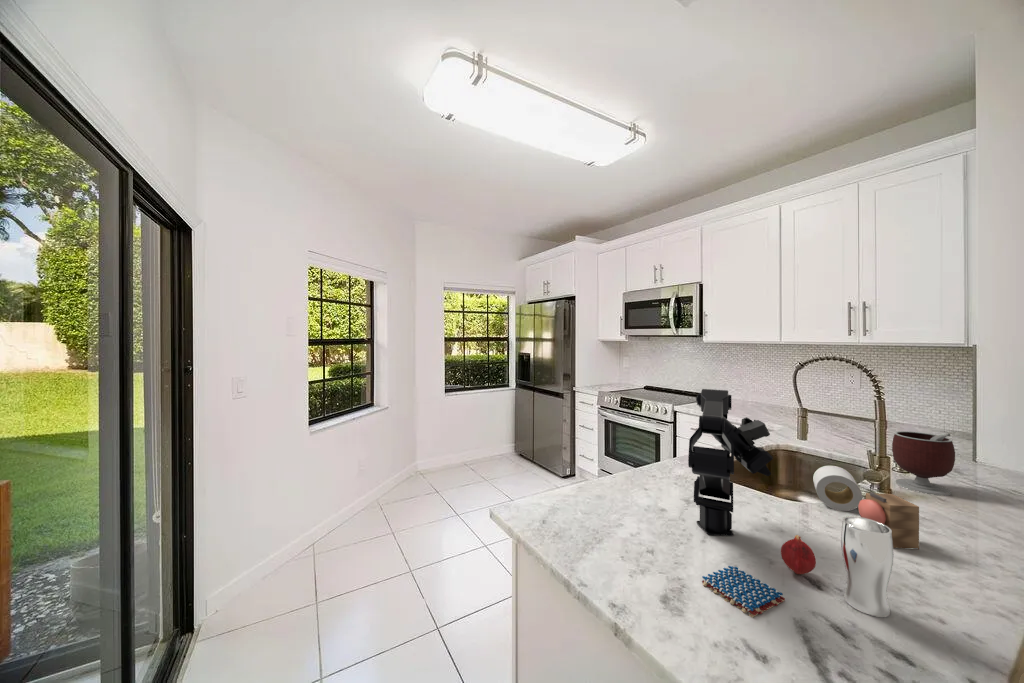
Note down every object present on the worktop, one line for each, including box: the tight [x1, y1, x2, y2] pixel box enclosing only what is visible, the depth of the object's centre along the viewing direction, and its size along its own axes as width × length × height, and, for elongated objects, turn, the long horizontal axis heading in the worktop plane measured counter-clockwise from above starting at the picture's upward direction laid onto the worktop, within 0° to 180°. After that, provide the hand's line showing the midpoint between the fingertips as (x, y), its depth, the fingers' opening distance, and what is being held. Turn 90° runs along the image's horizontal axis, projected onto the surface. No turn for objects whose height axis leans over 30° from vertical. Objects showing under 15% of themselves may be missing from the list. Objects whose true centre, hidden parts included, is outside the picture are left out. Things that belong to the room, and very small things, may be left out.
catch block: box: [865, 491, 920, 550], centre depth 90 cm, size 6×7×11 cm
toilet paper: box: [812, 465, 863, 512], centre depth 110 cm, size 10×10×10 cm
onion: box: [780, 534, 817, 576], centre depth 77 cm, size 6×6×8 cm
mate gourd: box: [891, 430, 956, 496], centre depth 121 cm, size 16×14×20 cm
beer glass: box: [840, 515, 895, 618], centre depth 68 cm, size 7×7×15 cm
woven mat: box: [701, 565, 786, 618], centre depth 72 cm, size 10×11×2 cm
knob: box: [857, 498, 886, 524], centre depth 90 cm, size 8×6×6 cm
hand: (769, 474), depth 97 cm, fingers closed
